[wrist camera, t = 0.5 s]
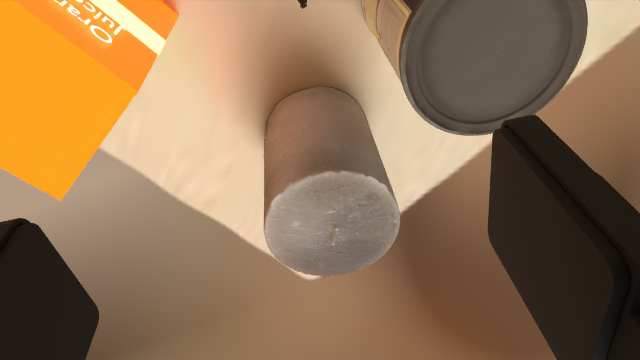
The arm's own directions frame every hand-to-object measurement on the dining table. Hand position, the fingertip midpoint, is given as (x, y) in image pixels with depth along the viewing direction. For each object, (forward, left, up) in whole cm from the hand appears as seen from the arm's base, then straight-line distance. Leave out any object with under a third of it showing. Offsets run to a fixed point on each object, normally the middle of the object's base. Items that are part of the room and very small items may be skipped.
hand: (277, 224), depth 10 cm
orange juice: (+3, -13, -31) cm, 33 cm away
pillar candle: (+15, +3, -31) cm, 34 cm away
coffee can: (+3, +12, -31) cm, 33 cm away
